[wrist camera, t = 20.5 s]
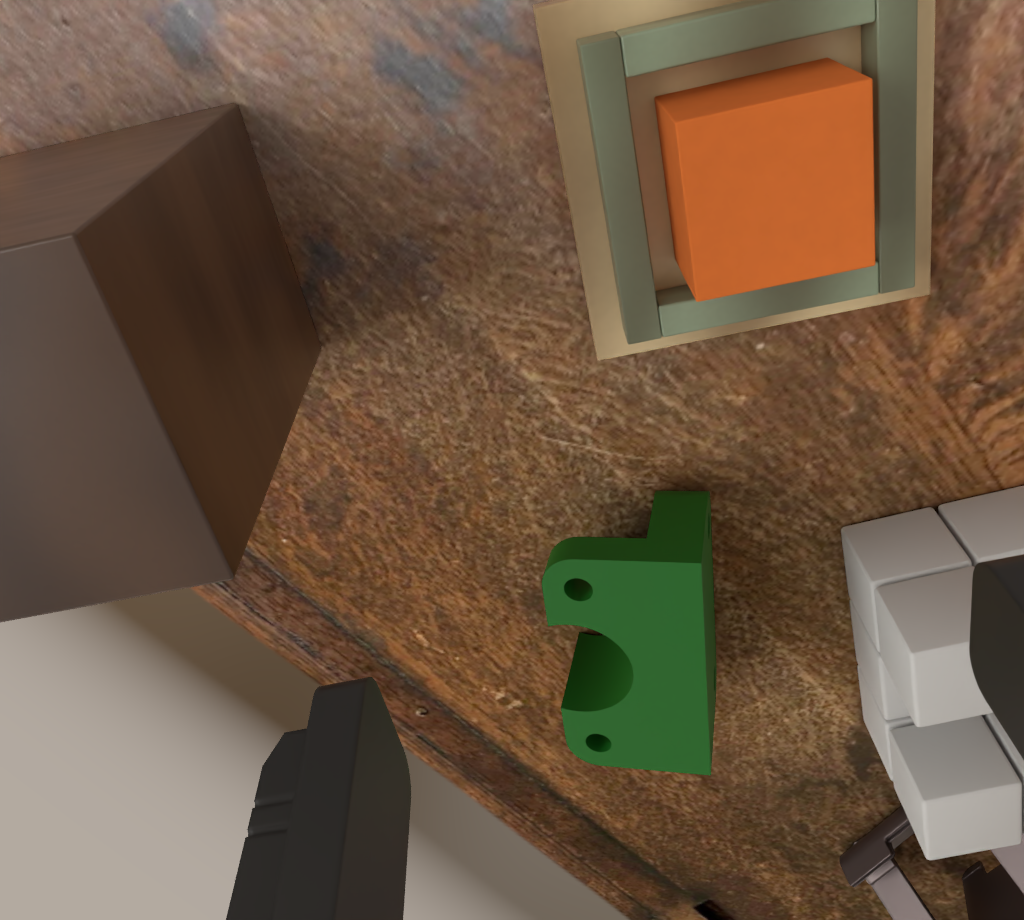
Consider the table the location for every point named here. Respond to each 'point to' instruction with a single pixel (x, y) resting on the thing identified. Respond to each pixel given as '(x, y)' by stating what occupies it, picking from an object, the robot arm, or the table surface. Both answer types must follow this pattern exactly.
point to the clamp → (641, 640)
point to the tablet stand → (989, 896)
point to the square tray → (638, 161)
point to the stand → (140, 361)
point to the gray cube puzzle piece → (935, 669)
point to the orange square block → (770, 177)
